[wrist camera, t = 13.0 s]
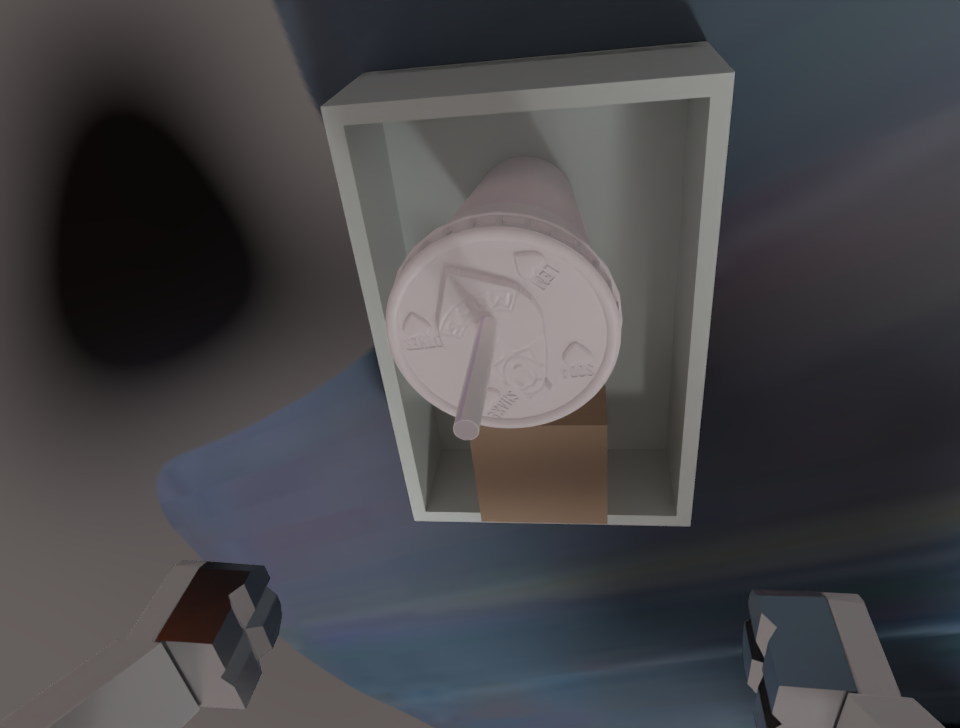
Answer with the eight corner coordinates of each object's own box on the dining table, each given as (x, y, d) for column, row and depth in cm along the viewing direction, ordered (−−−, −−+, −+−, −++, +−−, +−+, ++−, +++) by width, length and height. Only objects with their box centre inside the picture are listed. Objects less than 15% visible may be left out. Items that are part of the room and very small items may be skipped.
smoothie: (554, 81, 23) (528, 258, 12) (641, 230, 26) (689, 494, 14) (409, 178, 26) (272, 401, 14) (501, 305, 28) (448, 579, 17)
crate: (676, 447, 33) (690, 526, 28) (434, 447, 34) (414, 520, 30) (707, 41, 23) (735, 72, 18) (363, 72, 24) (319, 106, 20)
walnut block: (603, 426, 31) (607, 523, 26) (496, 426, 32) (481, 521, 27) (602, 335, 29) (607, 425, 24) (486, 338, 29) (467, 425, 24)
